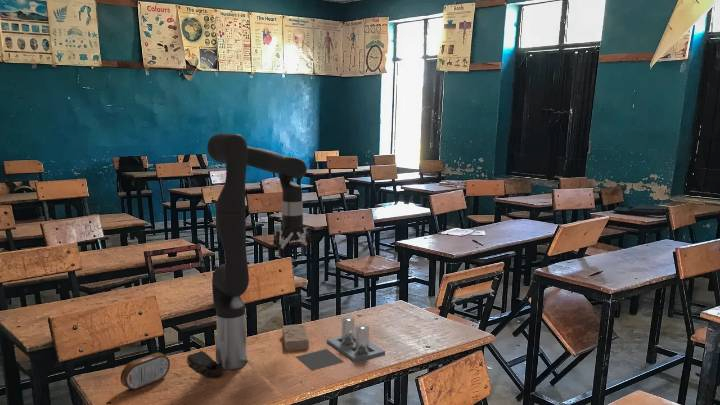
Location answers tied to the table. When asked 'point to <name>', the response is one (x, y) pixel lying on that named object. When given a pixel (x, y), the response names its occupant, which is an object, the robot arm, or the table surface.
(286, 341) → the brick
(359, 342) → the cylinder
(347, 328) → the cylinder
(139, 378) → the tin
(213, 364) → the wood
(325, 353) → the mat
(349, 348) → the grey slotted holder
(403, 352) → the table surface
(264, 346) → the table surface
